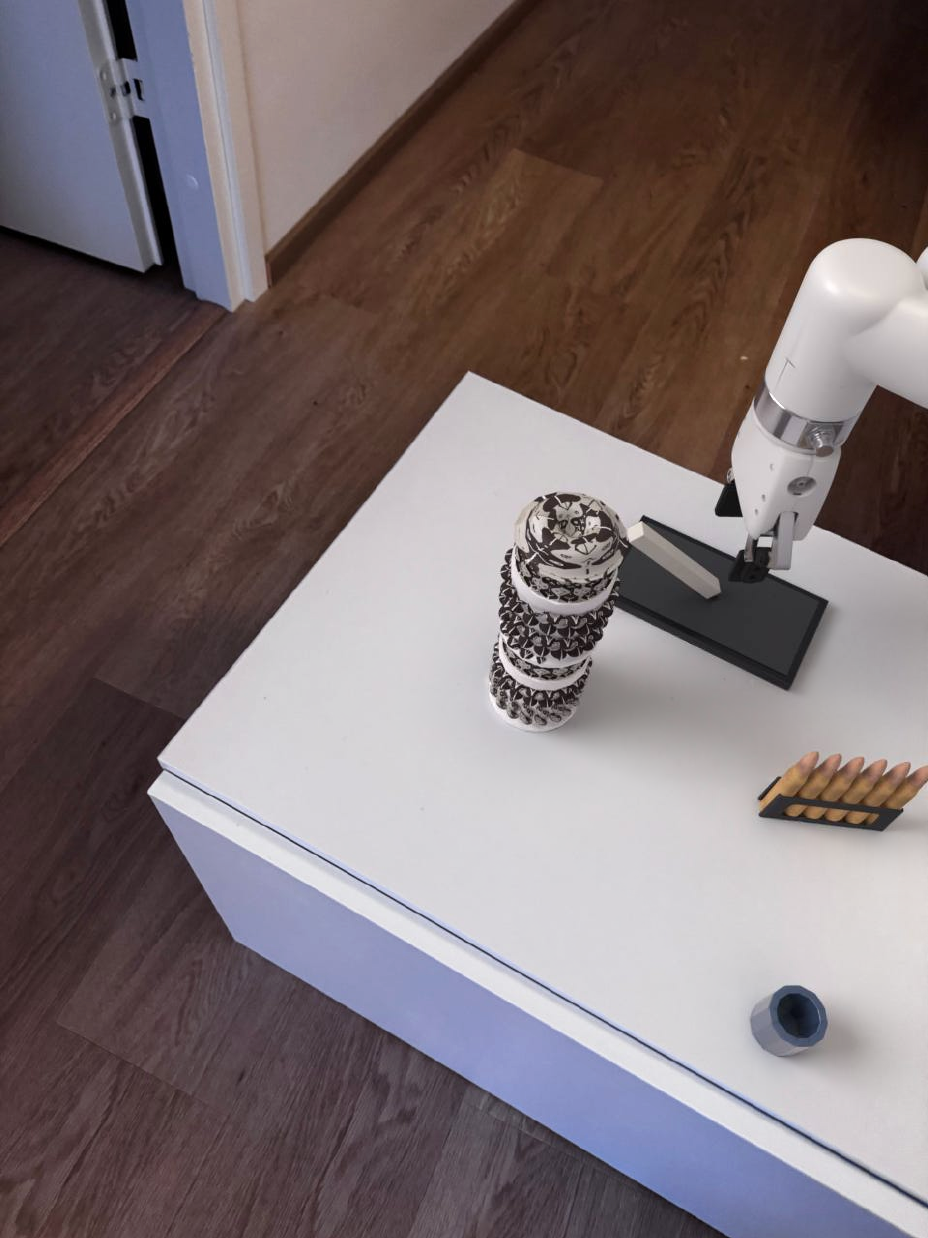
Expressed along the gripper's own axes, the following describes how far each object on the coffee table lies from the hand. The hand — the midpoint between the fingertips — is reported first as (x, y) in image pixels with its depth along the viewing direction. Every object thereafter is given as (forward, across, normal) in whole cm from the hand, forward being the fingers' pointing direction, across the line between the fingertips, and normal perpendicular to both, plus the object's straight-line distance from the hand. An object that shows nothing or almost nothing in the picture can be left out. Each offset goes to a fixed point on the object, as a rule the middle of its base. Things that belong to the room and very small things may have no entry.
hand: (738, 545), depth 87 cm
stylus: (+8, 0, 0) cm, 8 cm away
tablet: (+9, 0, 0) cm, 9 cm away
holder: (+9, -39, +1) cm, 40 cm away
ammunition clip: (+10, -22, -6) cm, 25 cm away
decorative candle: (+10, -10, +18) cm, 23 cm away
